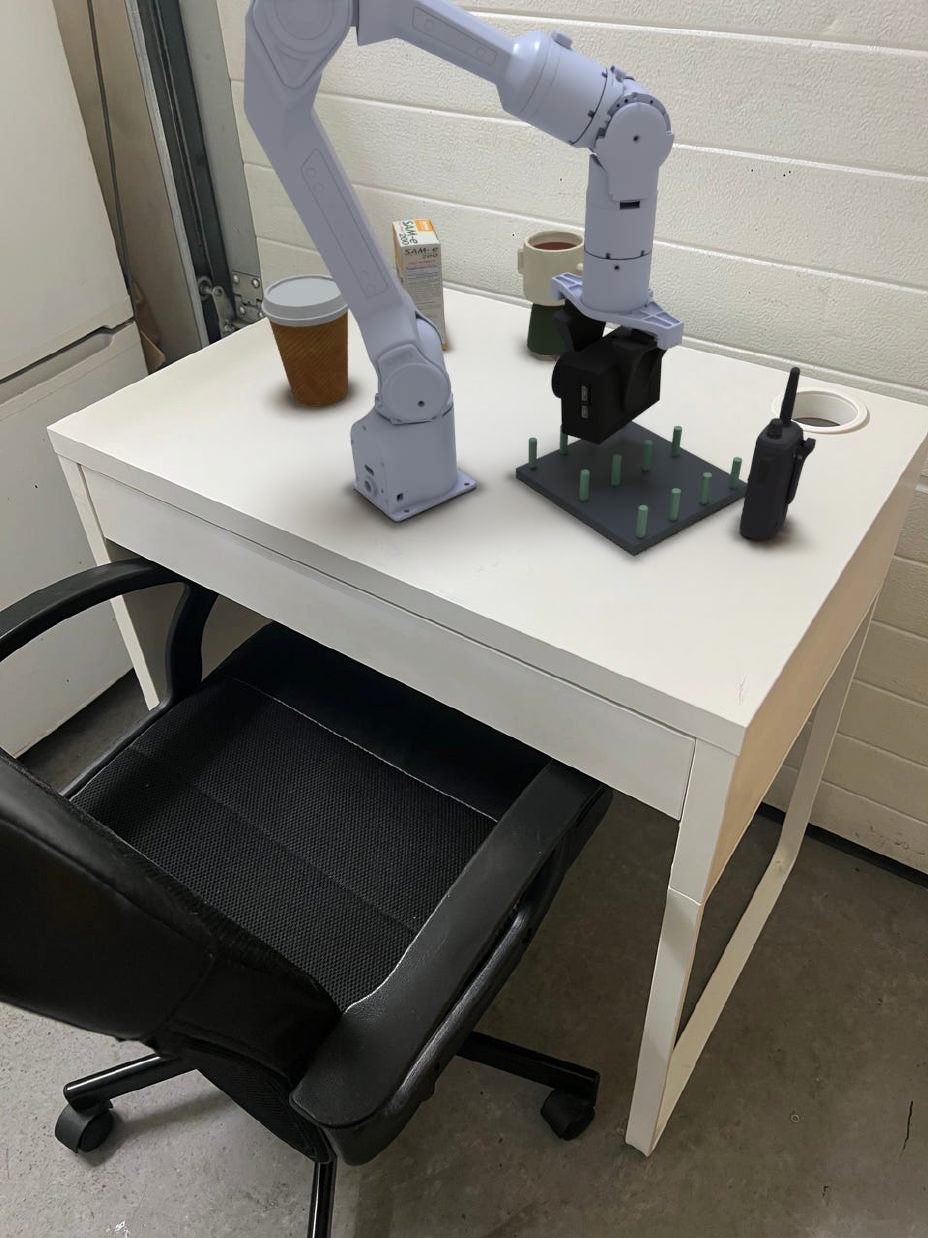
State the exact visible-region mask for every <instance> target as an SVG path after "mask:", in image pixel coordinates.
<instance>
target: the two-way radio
mask: <svg viewBox="0 0 928 1238" xmlns="http://www.w3.org/2000/svg"><path fill="white" fill-rule="evenodd" d="M800 375H801V368H800V367H798V366H792V368H791V369H790V371H789V375H788V378H787V383H786V387H785V391H784V395H783V400H782V403H781V407H780V412H779V416H778V417H774V418H772V419H770V421H769V423H768V424H767V425H765V427H764V428H763V429H762V430H761V431H760V433H759V434H758V436H757V437H756V440H755V445H754V449H753V454H752V459H751V464H750V468H749V474H748V476H747V479H746V483H747V485H748V486H747V490H746V491H745V494H744V496H743V498H744V500H743V506H742V511H741V515H740V523H739V531H740V532H741V534H742V535H744V536H745V537H748V538H750V539H753V540H768V539H772V538H773V537H775V536H776V535H777V534H778V533H779V532H780V530H781V529H782V528H783V526H784V524H785V522H786V519H787V514H788V512H789V511H788V510H789V506H790V504H792V503H793V501H794V499H795V498H796V495H797V491H798V488H799V482H800V478H801V474H802V473H803V472H802V471H803V467H804V465H805V462H806V460H807V458H808V457H809V456H810V454H811V453H813V452H814V450H815V447H816V442H817V439H816V438H812V437H807V438H806V439H805V437H804V429H803V427H801V425H799V423H797V422H796V421H794V420H792V419H793V414H794V408H795V403H796V397H797V391H798V387H799V380H800Z"/></svg>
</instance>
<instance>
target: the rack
mask: <svg viewBox="0 0 928 1238" xmlns="http://www.w3.org/2000/svg"><path fill="white" fill-rule="evenodd" d="M682 434H683V427H682V426H681V425H674V427H673V430H672V439H671V441H670V440H668V439H667V438H664V437H662V436H661V435H659V434H657V433H655V432H653V431H652V430H650V429H648V428H645V427H644V426H642V425H641V424H638V422H635V421H634V420H632V421H631V422H629V423H628V424H627V425H625V426H624V427H623V428H621V429H620V430H619V431H617V432H616V433H615V434H613V435H612V436H611V437H609V438H608V439H606V440H605V441H604V442H602V443H601V444H600V445H598V444H595V443H592V442H589V441H585V440H582V439H578V440H575V441H574V442H571V443H569V435H566V434H563V433H562V424H561V423H560V426H559V448H558V449H555V450H553V451H551V452H549V453H547V454H544V455H542V456H540V457H538V439H537V438H536V437H530V438H528V462H527V463H525V464H522V465H520V466H518V467H516V468H515V477H516V478H517V479H518V480H520V481H522V482H523V483H524V484H525V485H528V486H529V487H531V488H532V489H534V490H535V491H536V492H538V493H540V494H541V495H542V496H544V497H546V498H547V499H549V500H550V501H552V502H553V503H555V504H556V505H557V506H559V507H561V508H562V509H564V510H565V511H566V512H568V513H569V514H571V515H573V516H574V517H576V518H577V519H579V520H580V521H582V522H583V523H585V524H586V525H588V526H589V527H591V528H592V529H594V530H595V531H597V532H598V533H600V534H601V535H603V536H604V537H605V538H607V539H609V540H610V541H611V542H613V543H615V544H616V545H618V546H619V547H621V548H622V549H623V550H624V551H626V552H629V553H630V554H631V555H632V556H634V555H637V554H639V553H640V552H642V551H644V550H646V549H648V548H650V547H652V546H654V545H655V544H657V543H659V542H661V541H663V540H665V539H666V538H668V537H670V536H671V535H673V534H675V533H676V534H677V532H679V531H682V530H683V529H685V528H688V526H690V525H692V524H694V523H696V522H698V521H700V520H701V519H704V518H705V517H707V516H709V515H711V514H712V513H715V512H716V511H718V510H720V509H722V508H724V507H725V506H727V505H730V504H731V503H733V502H735V501H737V500H739V499H740V498H743V497H744V494H745V491H746V490H747V486H748V485H747V481H744V480H742V479H740V476H741V475H740V474H741V469H742V463H743V458H742V457H740V456H735V457H734V458H733V459H732V463H731V464H732V465H731V470H730V473H729V472H727V471H725V470H723V469H722V468H720V467H718V466H716V465H714V464H712V463H711V462H709V461H707V460H705V459H703V458H702V457H699V456H698V455H696V454H694V453H692V452H691V451H688V450H686V448H683V447H682V446H681V443H682V442H681V441H682Z"/></svg>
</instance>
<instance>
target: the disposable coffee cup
mask: <svg viewBox="0 0 928 1238" xmlns="http://www.w3.org/2000/svg"><path fill="white" fill-rule="evenodd" d="M260 306H261V307H260V308H261V310H262V312H263V314H264V315H265V317H266V318H267V319H268V322H269V325H270V327H271V331H272V334H273V337H274V341H275V344H276V347H277V351H278V353H279V356H280V359H281V362H282V366H283V369H284V372H285V375H286V379H287V381H288V384H289V387H290V388H289V389H290V391H291V393H292V397H293V399H294V401H295V402H296V403H299V404H301V405H304V406H309V407H320V406H321V407H322V406H328V405H331V404H335V403H337V402H339V401H341V400H343V399H344V398H345V397H346V396H347V395H348V393H349V310H350V309H349V307H348V305H347V303H346V301H345V300H344V298H343V296H342V294H341V292H340V290H339V289H338V287H337V285H336V283H335V281H334V279H333V277H332V276H331V275H328V274H322V273H321V274H320V273H309V274H297V275H293V276H287V277H284V278H282V279H279V280H276V281H274V282H273V283H271V284H269V285H268V286H267V287H266V288H265V290H264V292H263V300H262V302H261V305H260Z"/></svg>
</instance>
